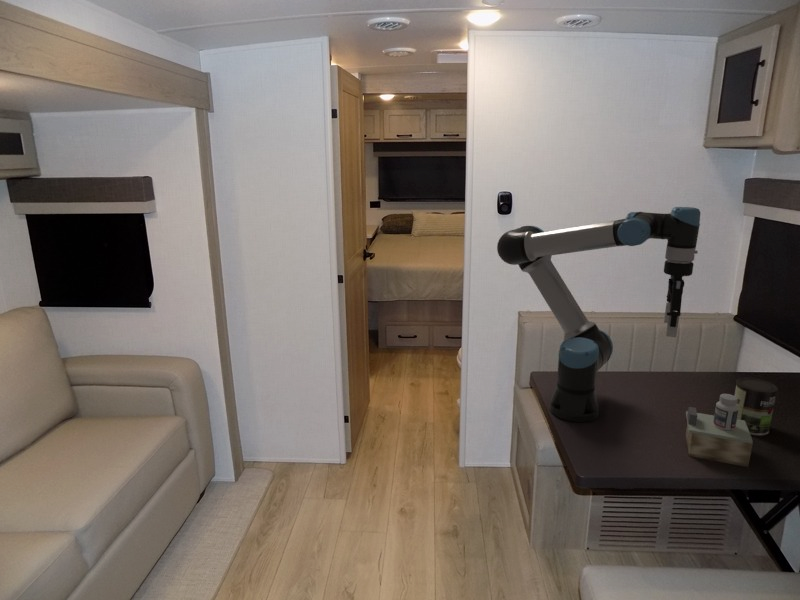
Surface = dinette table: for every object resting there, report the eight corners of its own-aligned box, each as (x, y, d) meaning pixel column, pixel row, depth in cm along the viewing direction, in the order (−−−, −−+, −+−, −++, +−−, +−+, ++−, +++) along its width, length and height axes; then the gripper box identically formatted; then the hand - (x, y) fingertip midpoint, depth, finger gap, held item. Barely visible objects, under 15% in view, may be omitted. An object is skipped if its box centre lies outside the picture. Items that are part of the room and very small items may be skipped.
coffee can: (777, 431, 156) (786, 388, 152) (754, 438, 152) (763, 394, 148) (743, 416, 165) (751, 374, 161) (721, 422, 161) (728, 380, 158)
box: (688, 455, 144) (692, 433, 142) (685, 436, 154) (688, 415, 152) (748, 467, 139) (752, 443, 137) (740, 446, 149) (745, 424, 147)
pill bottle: (730, 422, 146) (736, 393, 143) (738, 431, 141) (743, 402, 138) (710, 420, 147) (714, 391, 144) (716, 429, 142) (721, 400, 139)
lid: (689, 432, 142) (691, 420, 141) (685, 413, 153) (687, 401, 152) (752, 443, 137) (754, 430, 136) (744, 423, 147) (746, 410, 146)
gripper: (698, 270, 141) (687, 344, 146) (690, 254, 163) (680, 318, 168) (667, 268, 143) (657, 341, 149) (663, 252, 165) (655, 316, 171)
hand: (669, 329), depth 159 cm, fingers open, 13 cm apart
